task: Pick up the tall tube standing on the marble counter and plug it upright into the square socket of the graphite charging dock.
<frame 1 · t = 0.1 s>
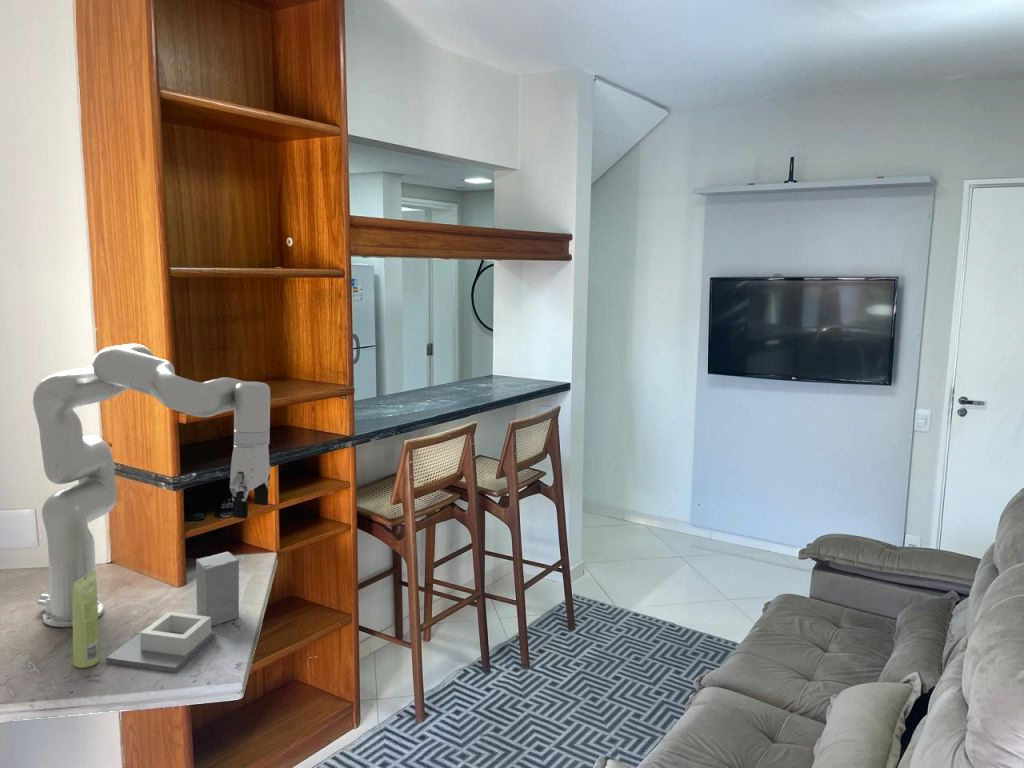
hand: (251, 510, 168), 31 cm above the countertop, fingers open, 9 cm apart
dock: (163, 649, 166), on the countertop
skincare box: (217, 620, 181), on the countertop
tube: (87, 663, 159), on the countertop
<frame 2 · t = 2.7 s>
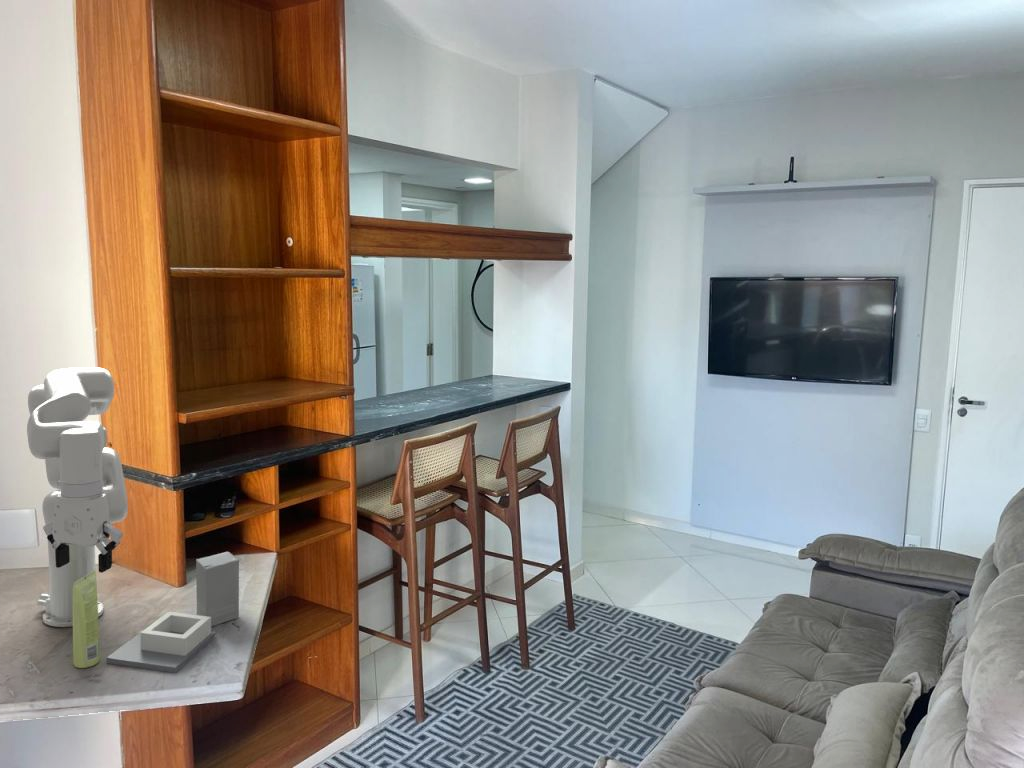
hand: (83, 567, 155), 22 cm above the countertop, fingers open, 9 cm apart
nothing on the countertop moved.
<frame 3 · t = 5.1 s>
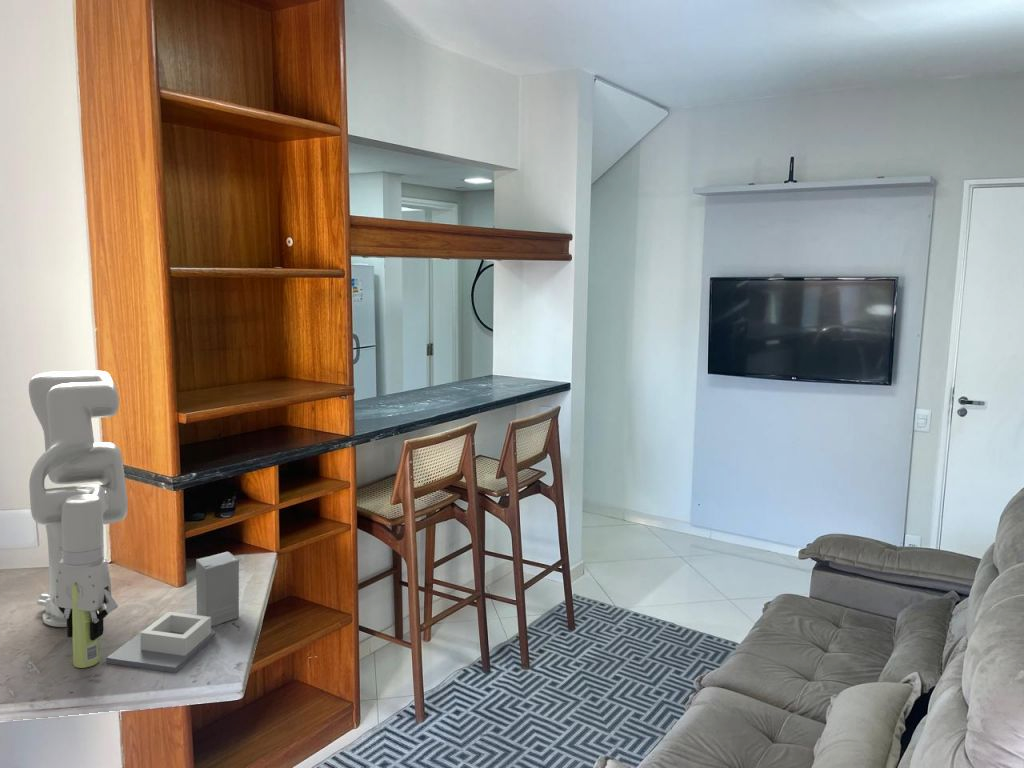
hand: (85, 635, 157), 6 cm above the countertop, fingers closed on tube, 4 cm apart
tube: (87, 663, 159), on the countertop, touching gripper
everything else where it was.
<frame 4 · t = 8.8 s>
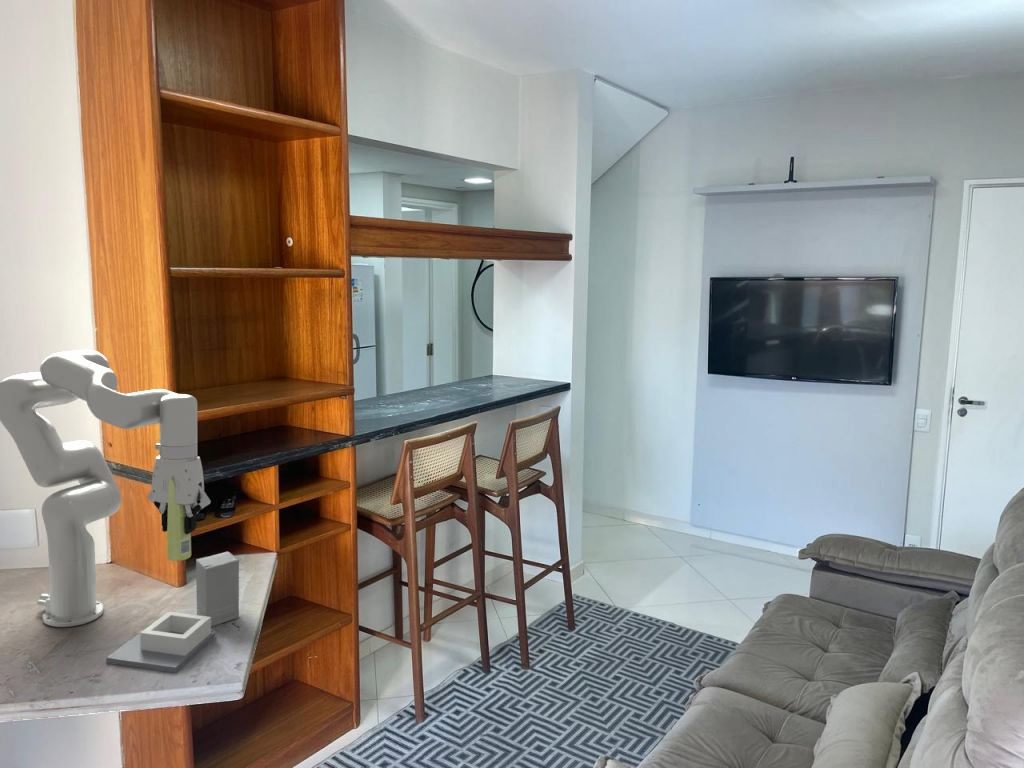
hand: (178, 530, 164), 27 cm above the countertop, fingers closed on tube, 4 cm apart
tube: (179, 558, 166), point 21 cm above the countertop, touching gripper
everything else where it was.
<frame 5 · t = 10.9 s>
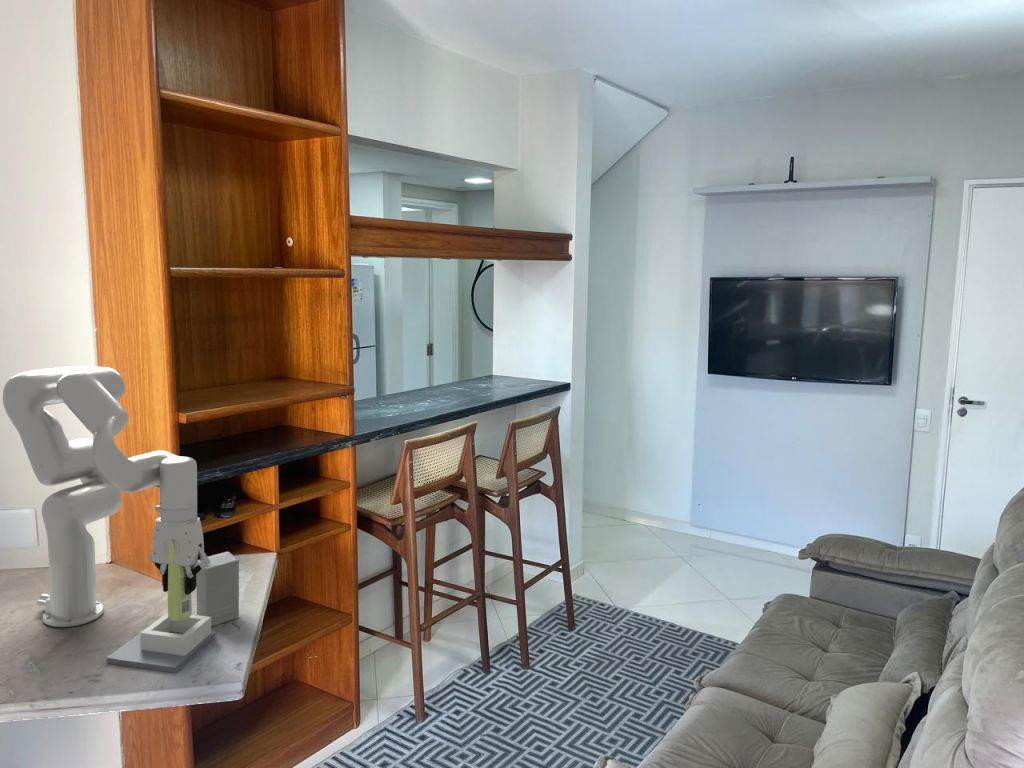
hand: (179, 590, 166), 13 cm above the countertop, fingers closed on tube, 4 cm apart
tube: (180, 617, 168), point 6 cm above the countertop, touching gripper
everything else where it was.
when the fingers open (9 cm above the countertop, at t = 12.7 s): tube drops 1 cm, resting on dock.
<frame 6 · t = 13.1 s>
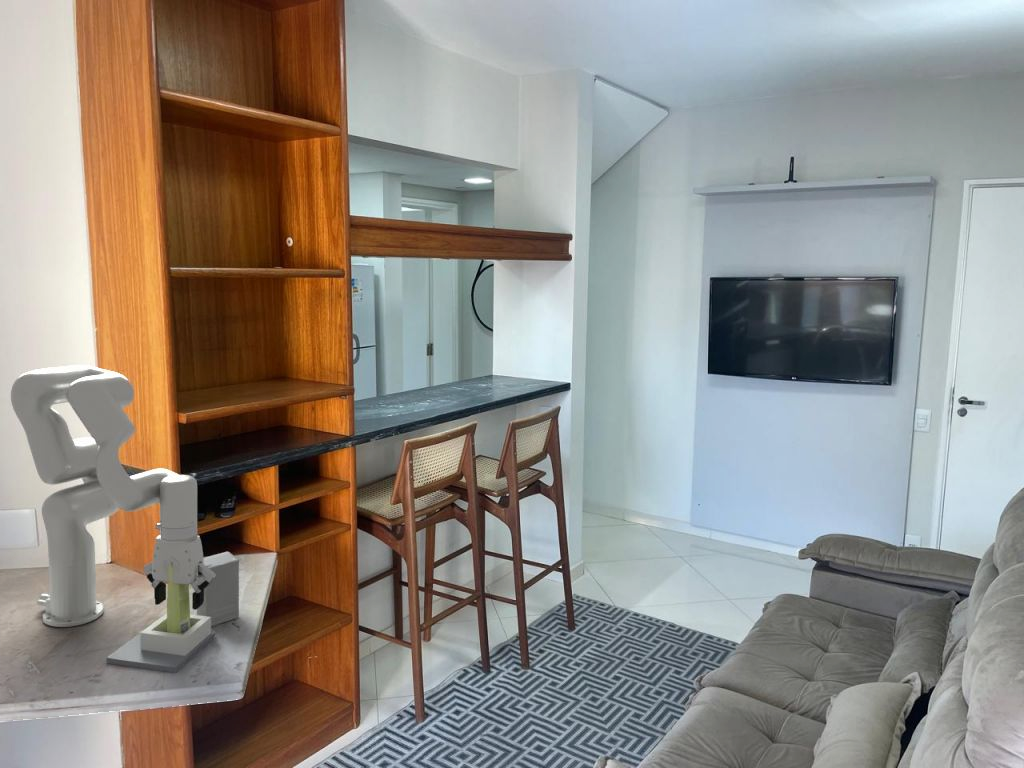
hand: (179, 604, 167), 10 cm above the countertop, fingers open, 8 cm apart
tube: (179, 639, 169), point 1 cm above the countertop, touching dock
everything else where it was.
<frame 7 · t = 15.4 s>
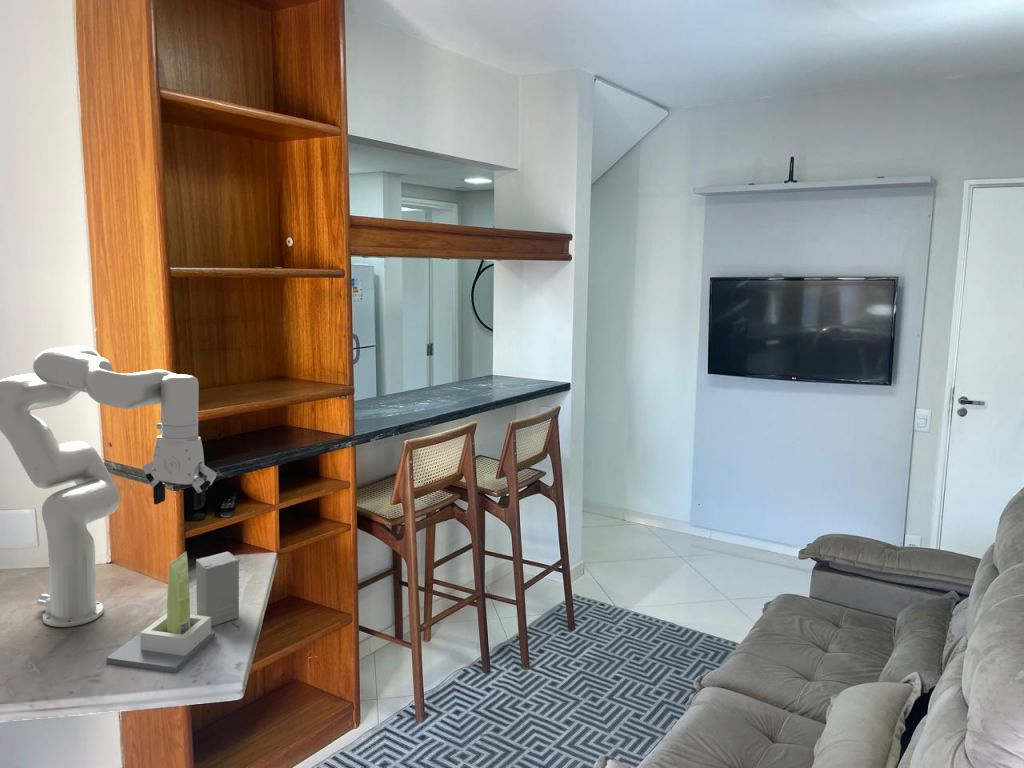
hand: (179, 505, 166), 32 cm above the countertop, fingers open, 9 cm apart
nothing on the countertop moved.
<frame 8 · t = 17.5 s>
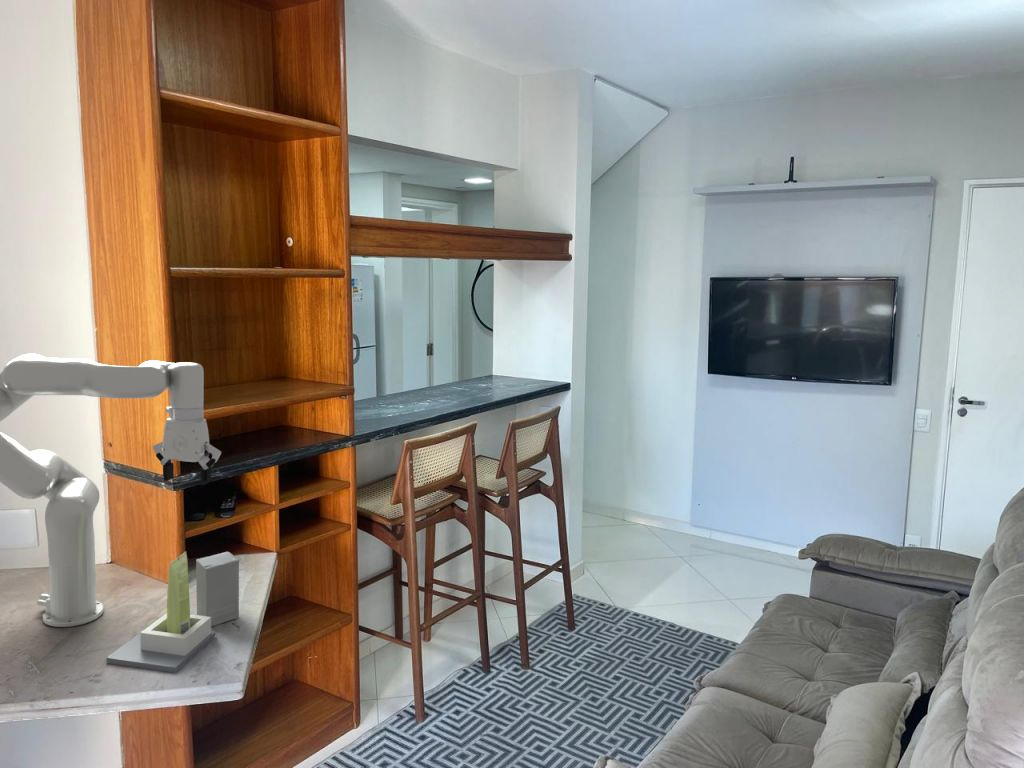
hand: (186, 481, 182), 32 cm above the countertop, fingers open, 9 cm apart
nothing on the countertop moved.
at the end: tube 1.2 cm from the target spot on the dock, point 1.0 cm above the dock's base; tube tilted 0°; the gripper is holding nothing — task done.
